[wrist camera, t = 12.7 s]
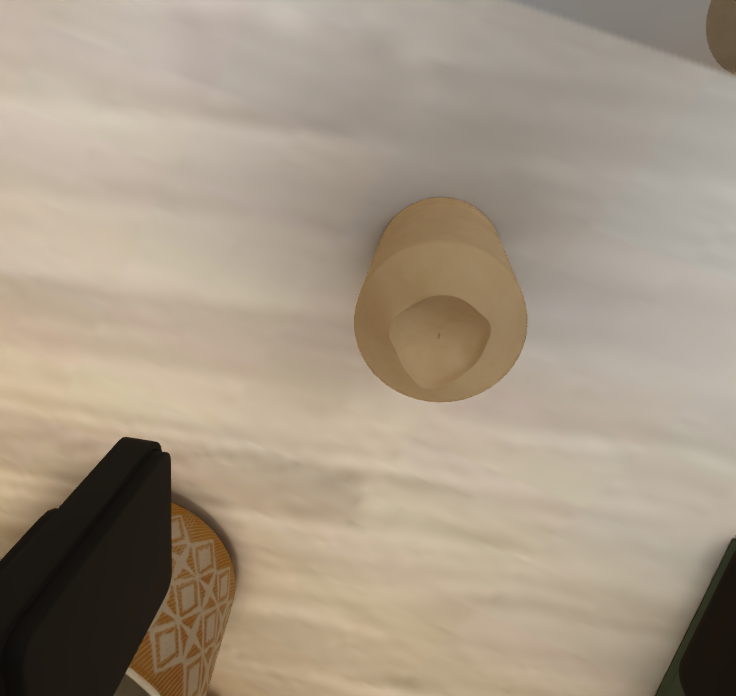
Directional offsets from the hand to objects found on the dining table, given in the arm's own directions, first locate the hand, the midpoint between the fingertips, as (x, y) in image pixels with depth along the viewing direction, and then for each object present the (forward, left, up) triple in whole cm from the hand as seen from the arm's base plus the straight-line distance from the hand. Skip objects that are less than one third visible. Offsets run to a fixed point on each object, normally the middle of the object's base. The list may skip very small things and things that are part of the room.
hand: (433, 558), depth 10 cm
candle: (0, 0, -19) cm, 19 cm away
